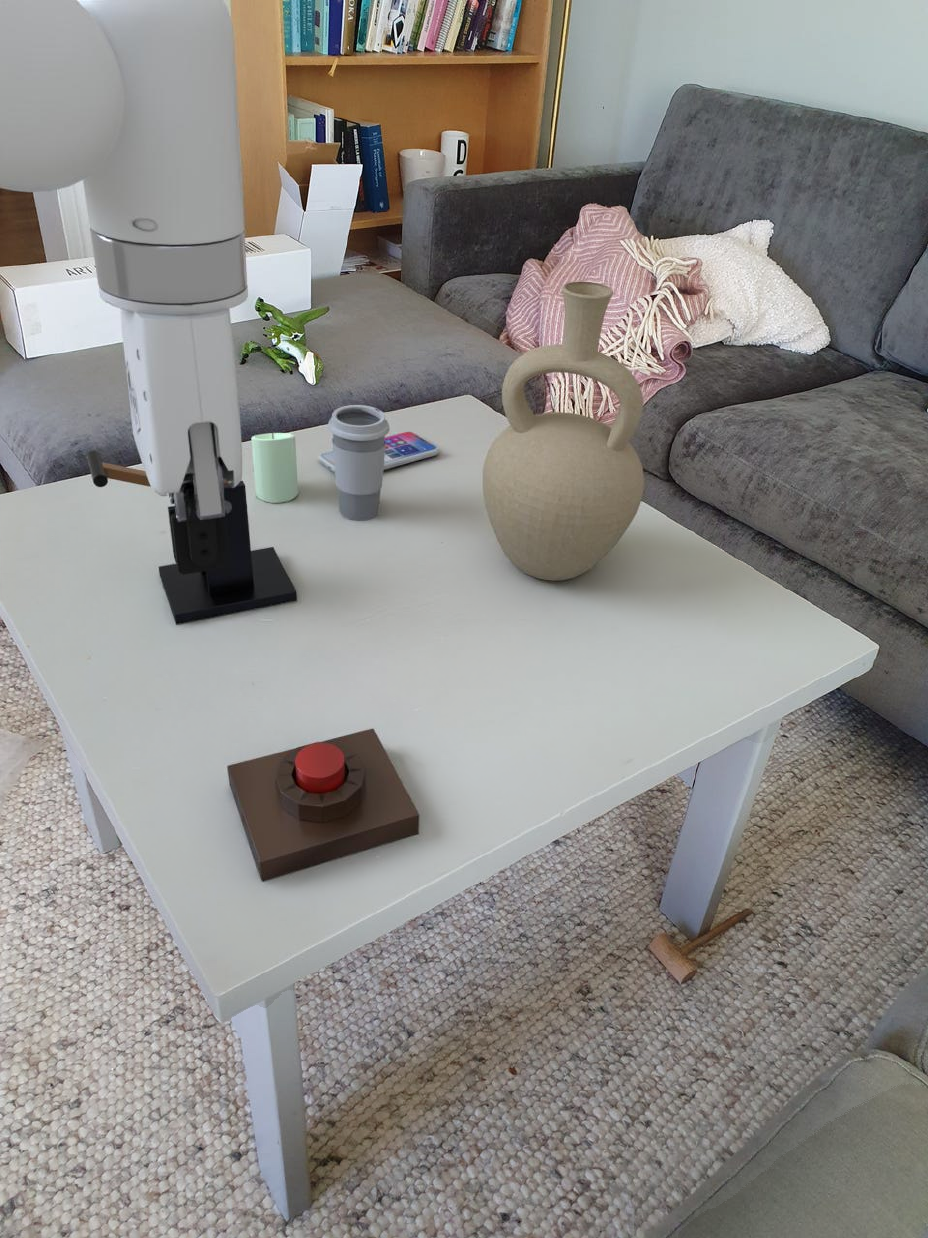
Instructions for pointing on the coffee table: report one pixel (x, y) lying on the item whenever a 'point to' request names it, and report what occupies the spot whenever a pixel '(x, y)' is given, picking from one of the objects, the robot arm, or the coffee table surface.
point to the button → (320, 768)
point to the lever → (115, 472)
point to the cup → (358, 458)
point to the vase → (565, 455)
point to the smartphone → (396, 451)
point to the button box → (320, 807)
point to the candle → (275, 467)
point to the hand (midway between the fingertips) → (202, 564)
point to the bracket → (230, 574)
